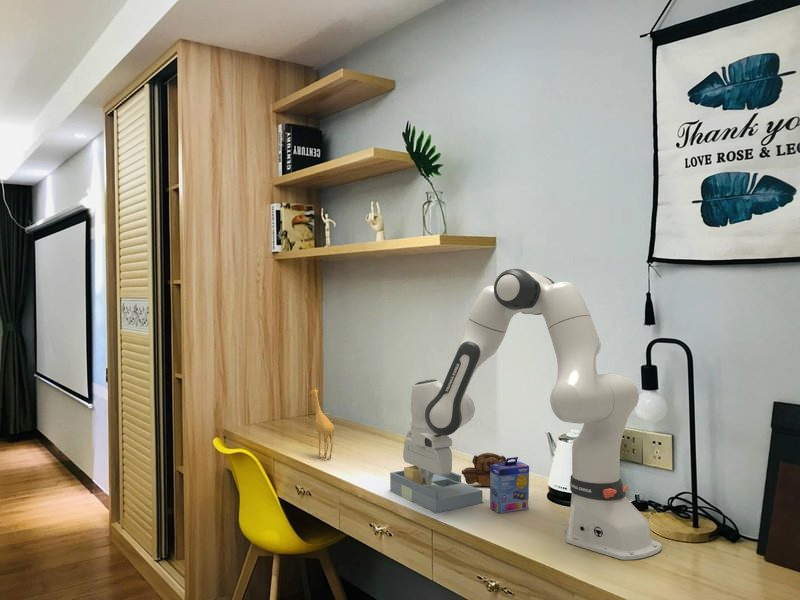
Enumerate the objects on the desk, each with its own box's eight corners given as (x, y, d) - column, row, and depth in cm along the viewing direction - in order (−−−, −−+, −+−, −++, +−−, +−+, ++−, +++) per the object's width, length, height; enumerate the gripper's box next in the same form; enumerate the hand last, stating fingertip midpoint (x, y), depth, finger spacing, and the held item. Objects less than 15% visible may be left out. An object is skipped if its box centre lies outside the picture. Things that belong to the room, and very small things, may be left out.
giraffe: (305, 454, 246) (305, 387, 246) (316, 452, 249) (315, 386, 249) (327, 463, 233) (326, 392, 233) (338, 461, 236) (337, 390, 235)
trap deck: (482, 502, 187) (482, 483, 187) (435, 512, 179) (435, 492, 179) (434, 482, 208) (434, 465, 208) (390, 490, 199) (390, 472, 199)
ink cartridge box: (499, 514, 177) (499, 460, 177) (488, 508, 182) (488, 455, 182) (530, 509, 181) (530, 456, 181) (519, 503, 186) (518, 452, 186)
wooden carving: (464, 489, 200) (464, 456, 200) (460, 485, 205) (460, 453, 205) (516, 487, 203) (516, 454, 203) (512, 482, 207) (511, 451, 207)
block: (425, 484, 193) (425, 468, 193) (412, 487, 191) (412, 470, 191) (417, 481, 197) (416, 465, 197) (404, 483, 195) (404, 467, 195)
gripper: (397, 431, 198) (398, 477, 198) (437, 444, 180) (437, 494, 180) (415, 428, 201) (415, 474, 201) (455, 441, 183) (456, 491, 183)
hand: (426, 484), depth 190 cm, fingers closed
